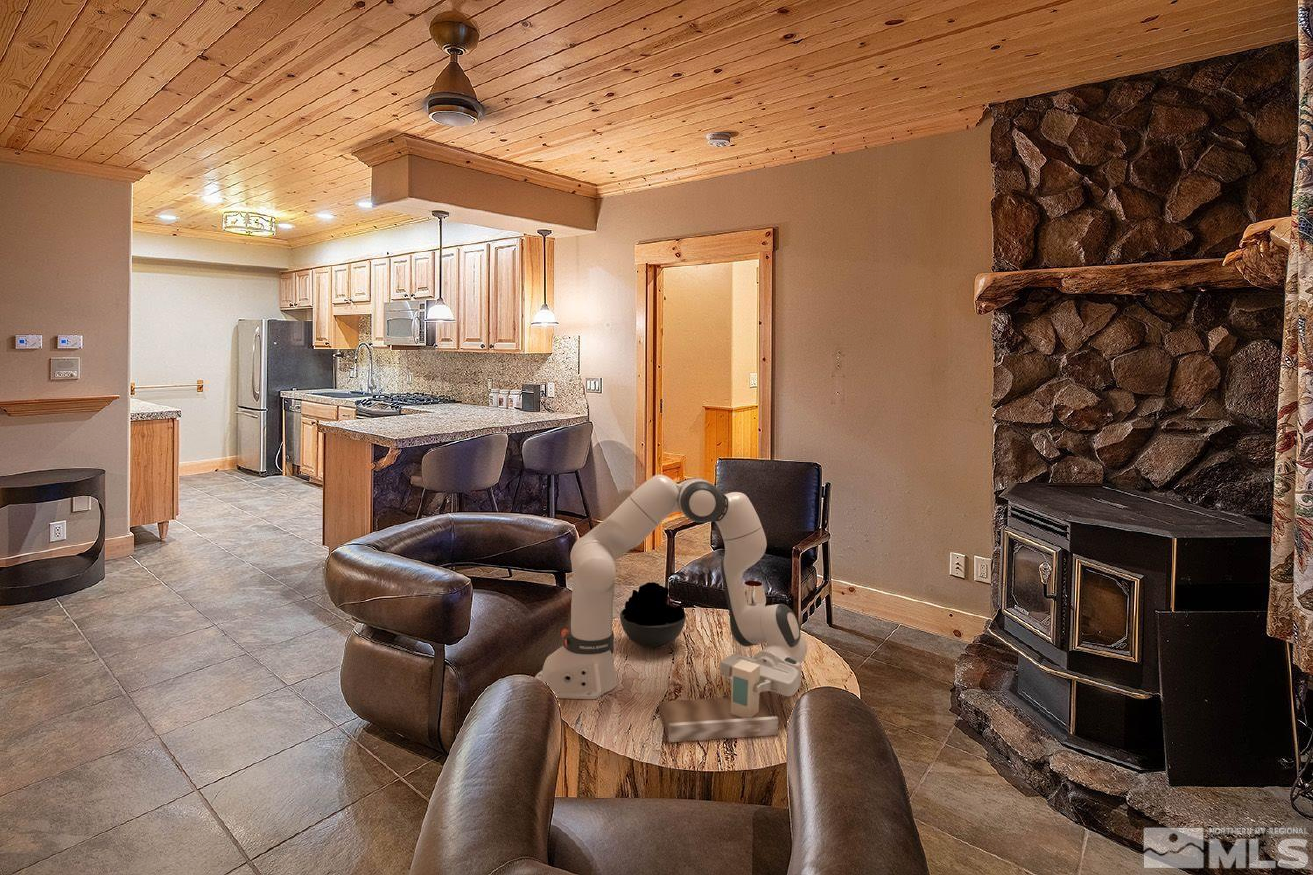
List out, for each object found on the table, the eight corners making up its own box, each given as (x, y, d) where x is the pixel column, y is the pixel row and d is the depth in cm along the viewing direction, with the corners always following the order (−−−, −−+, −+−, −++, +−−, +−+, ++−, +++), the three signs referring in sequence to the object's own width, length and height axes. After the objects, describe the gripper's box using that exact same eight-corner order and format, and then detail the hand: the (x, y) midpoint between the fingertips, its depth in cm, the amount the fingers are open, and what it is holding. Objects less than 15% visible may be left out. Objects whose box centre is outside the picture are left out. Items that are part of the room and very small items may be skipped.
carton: (740, 705, 174) (742, 659, 173) (758, 711, 171) (760, 665, 170) (730, 713, 170) (731, 666, 168) (748, 720, 167) (749, 672, 165)
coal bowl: (678, 631, 225) (680, 575, 222) (690, 658, 205) (692, 596, 203) (616, 633, 222) (617, 576, 220) (622, 661, 202) (623, 598, 200)
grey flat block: (669, 742, 160) (669, 726, 160) (658, 708, 176) (659, 693, 175) (778, 735, 164) (778, 719, 164) (758, 702, 180) (759, 688, 179)
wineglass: (733, 637, 220) (734, 582, 218) (749, 631, 226) (751, 577, 224) (753, 646, 215) (755, 589, 212) (769, 638, 220) (771, 583, 218)
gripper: (735, 643, 186) (707, 661, 175) (806, 665, 174) (782, 685, 163) (734, 666, 187) (707, 685, 175) (805, 689, 175) (781, 711, 163)
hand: (743, 685), depth 169 cm, fingers closed on carton, 5 cm apart
